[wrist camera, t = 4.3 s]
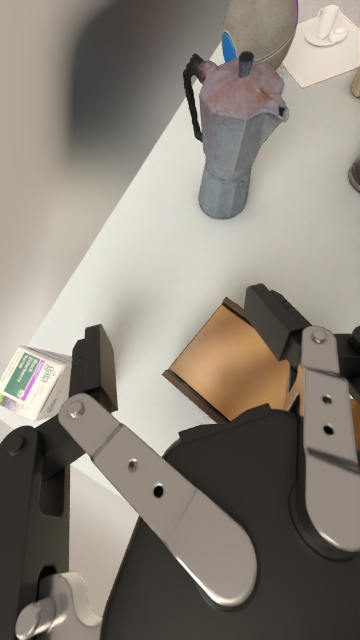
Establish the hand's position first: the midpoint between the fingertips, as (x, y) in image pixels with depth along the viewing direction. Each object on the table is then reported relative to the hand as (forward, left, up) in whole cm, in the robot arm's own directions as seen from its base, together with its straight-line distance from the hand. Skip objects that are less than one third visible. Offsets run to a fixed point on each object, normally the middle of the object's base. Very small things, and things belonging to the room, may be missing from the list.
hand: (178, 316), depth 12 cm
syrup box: (+16, +2, -24) cm, 29 cm away
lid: (-7, +4, -17) cm, 19 cm away
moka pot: (-8, -29, -24) cm, 38 cm away
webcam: (-18, -57, -24) cm, 64 cm away
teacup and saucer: (-36, -67, -24) cm, 80 cm away
